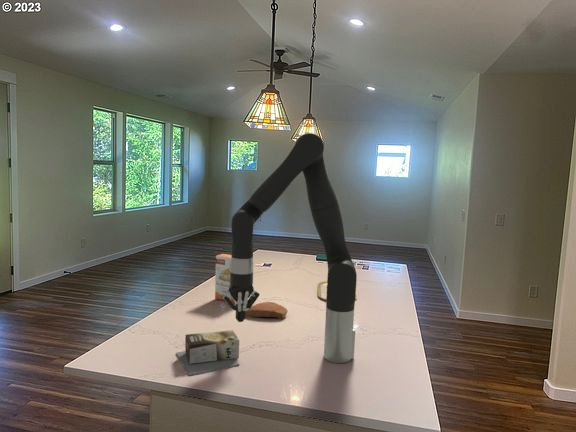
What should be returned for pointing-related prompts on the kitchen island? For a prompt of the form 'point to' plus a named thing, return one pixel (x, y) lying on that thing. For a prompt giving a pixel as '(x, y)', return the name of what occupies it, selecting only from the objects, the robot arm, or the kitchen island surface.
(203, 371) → the mat
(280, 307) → the ceramic shard
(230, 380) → the kitchen island surface
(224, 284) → the cracker box
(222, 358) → the coffee box
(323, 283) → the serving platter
